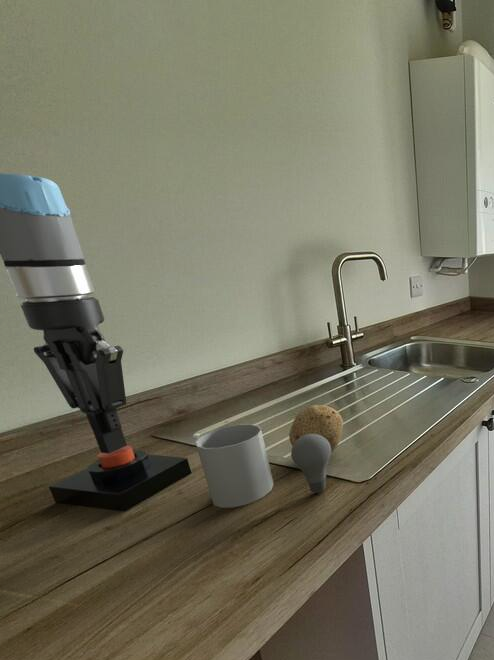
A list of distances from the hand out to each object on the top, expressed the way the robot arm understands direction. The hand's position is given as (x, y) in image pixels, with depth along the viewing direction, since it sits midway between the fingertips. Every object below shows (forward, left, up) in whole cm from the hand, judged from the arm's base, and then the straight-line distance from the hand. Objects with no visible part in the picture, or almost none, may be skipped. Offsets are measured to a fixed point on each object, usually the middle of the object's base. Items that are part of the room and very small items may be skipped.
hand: (114, 448), depth 65 cm
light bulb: (+32, +4, -7) cm, 33 cm away
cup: (+20, +2, -7) cm, 21 cm away
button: (0, 0, -3) cm, 3 cm away
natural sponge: (+25, +15, -7) cm, 30 cm away
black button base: (0, 0, -7) cm, 7 cm away
